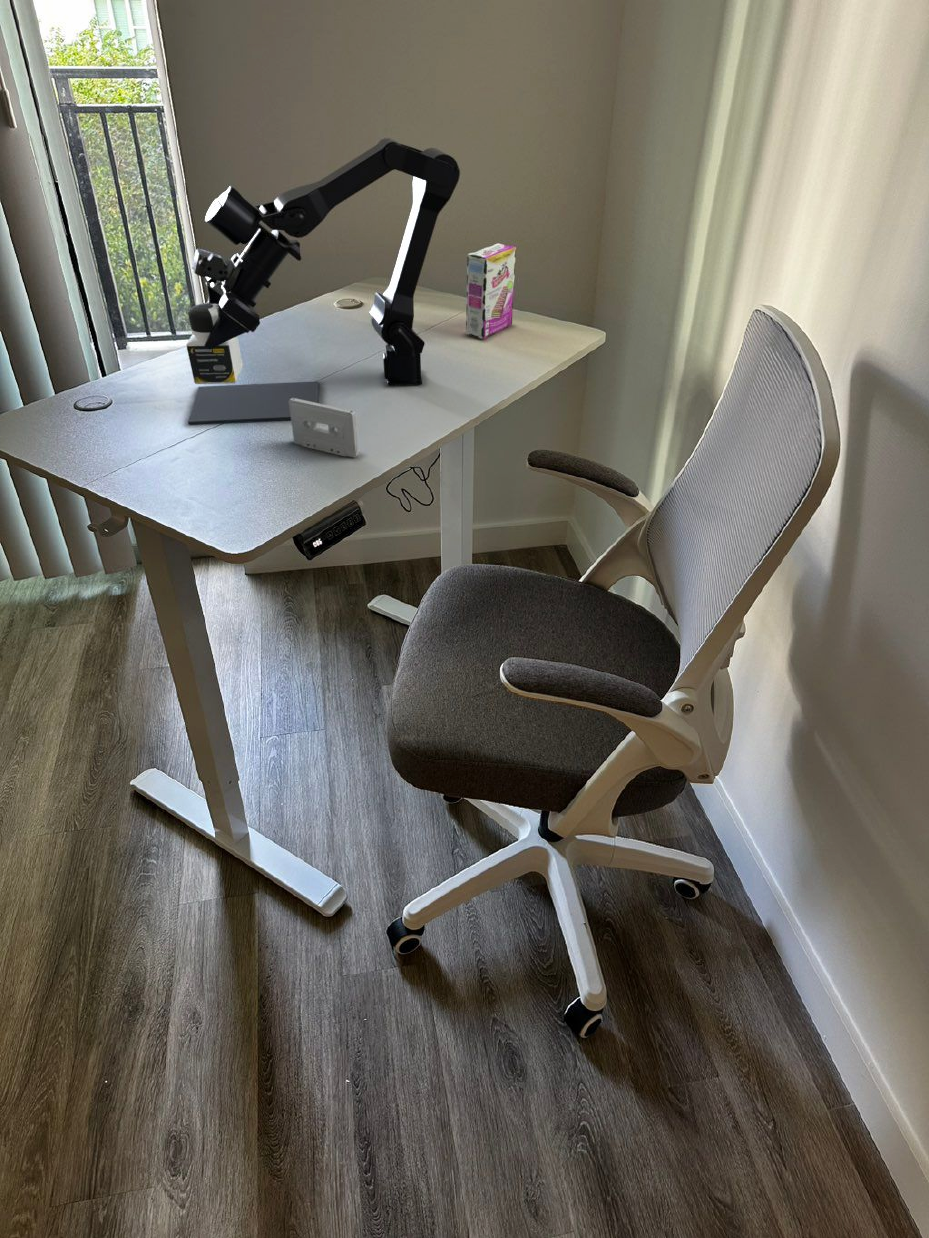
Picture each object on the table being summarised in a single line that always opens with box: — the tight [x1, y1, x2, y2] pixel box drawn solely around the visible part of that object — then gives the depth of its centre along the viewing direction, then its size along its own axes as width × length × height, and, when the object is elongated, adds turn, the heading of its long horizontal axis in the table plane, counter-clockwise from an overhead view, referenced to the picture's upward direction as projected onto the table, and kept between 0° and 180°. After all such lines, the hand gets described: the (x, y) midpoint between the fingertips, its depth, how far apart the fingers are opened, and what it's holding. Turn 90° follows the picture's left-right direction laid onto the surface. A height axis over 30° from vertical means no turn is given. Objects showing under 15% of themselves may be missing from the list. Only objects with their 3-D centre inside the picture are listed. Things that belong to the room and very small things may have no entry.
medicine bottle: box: [185, 302, 244, 385], centre depth 145 cm, size 7×7×12 cm
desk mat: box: [187, 380, 320, 426], centre depth 153 cm, size 22×15×1 cm
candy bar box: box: [465, 243, 517, 340], centre depth 178 cm, size 11×5×16 cm, turn 144°
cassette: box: [289, 398, 359, 459], centre depth 137 cm, size 12×2×8 cm, turn 64°
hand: (203, 338), depth 145 cm, fingers closed on medicine bottle, 8 cm apart
